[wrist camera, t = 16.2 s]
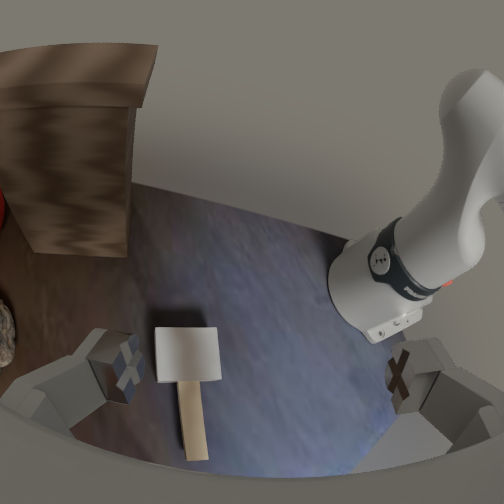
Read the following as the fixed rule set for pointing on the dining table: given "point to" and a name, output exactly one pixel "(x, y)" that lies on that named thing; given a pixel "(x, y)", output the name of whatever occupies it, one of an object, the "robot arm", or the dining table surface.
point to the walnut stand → (72, 143)
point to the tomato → (1, 208)
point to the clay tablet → (6, 336)
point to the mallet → (188, 377)
